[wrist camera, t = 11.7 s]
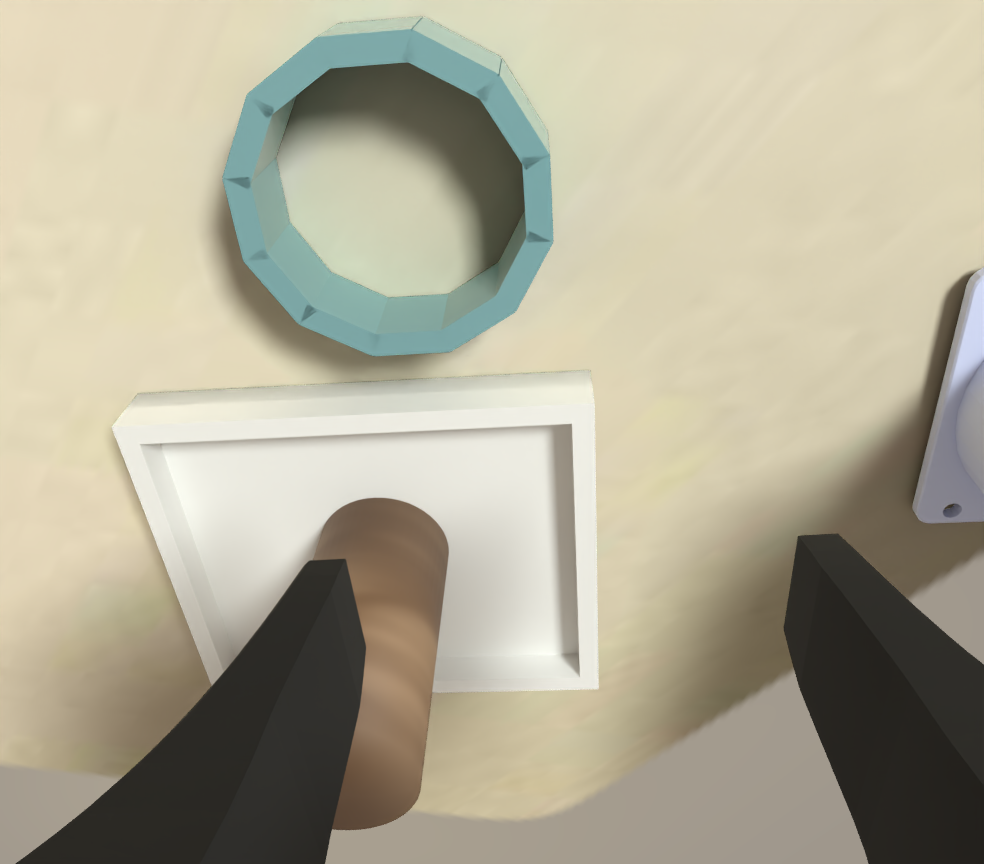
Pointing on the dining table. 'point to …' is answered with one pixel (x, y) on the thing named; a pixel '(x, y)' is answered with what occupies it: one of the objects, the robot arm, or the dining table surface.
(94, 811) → the robot arm
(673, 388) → the dining table surface
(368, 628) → the dowel
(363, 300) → the teal ring
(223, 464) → the tray
